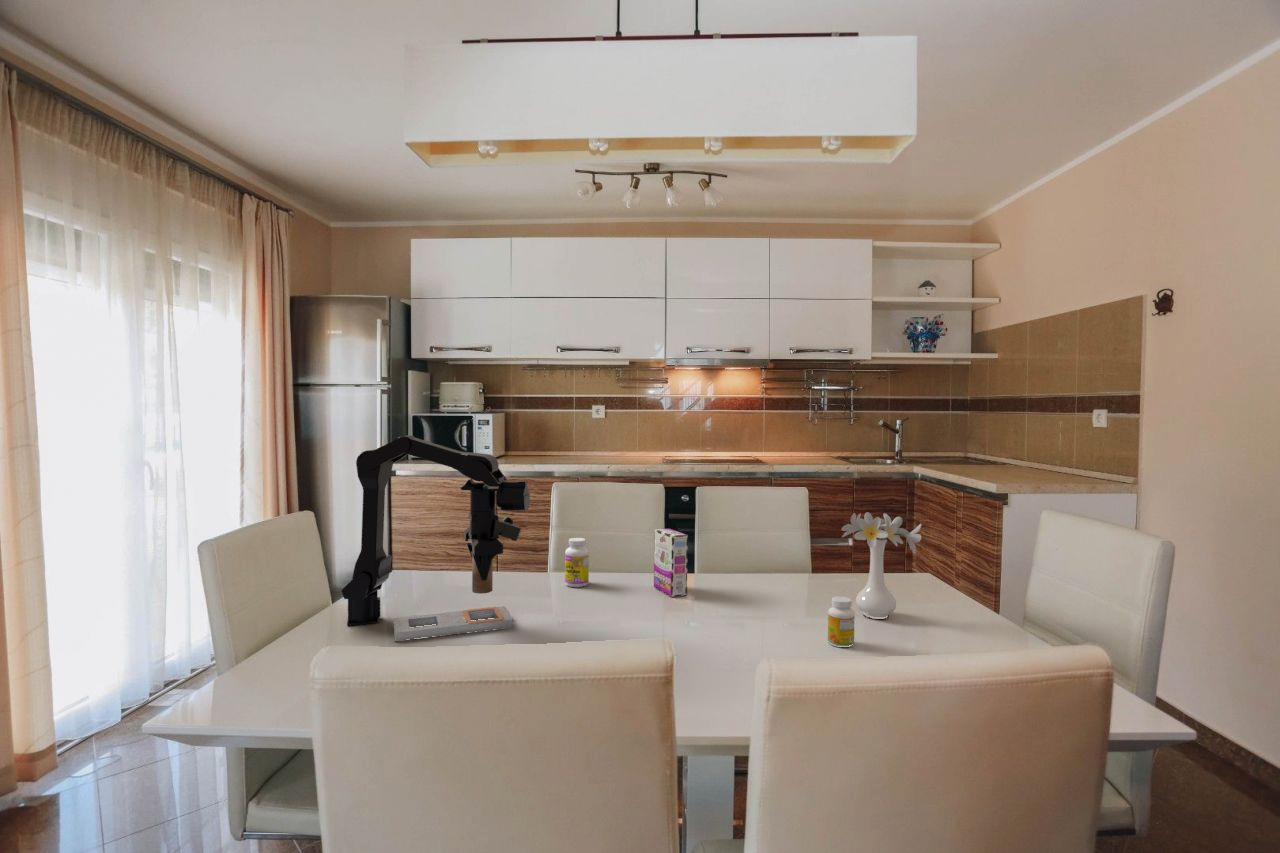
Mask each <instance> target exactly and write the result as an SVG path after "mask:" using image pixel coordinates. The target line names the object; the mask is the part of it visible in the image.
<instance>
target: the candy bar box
mask: <svg viewBox="0 0 1280 853" xmlns="http://www.w3.org/2000/svg"><path fill="white" fill-rule="evenodd" d="M688 552H689V535H688V534H685V533H683V532H680V531H677V530H675V529H671V528H659V529H658V528H657V529H654V552H653V554H654V556H653V558H654V559H653V588H654V587H656V588H658V589H659V590H658V589H657V590H658V591H660V590H661V591H663V592H664V593H663V592H662V593H663V594H665V593H666V594H665V595H667V596H668V595H669V596H668V597H670V596H671V597H670V598H676V597H675V596H680V597H682V596H681V595H688V559H689V558H688V557H689V556H688V554H689V553H688ZM656 588H655V589H656ZM661 591H660V592H661Z"/></svg>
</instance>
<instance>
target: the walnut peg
mask: <svg viewBox="0 0 1280 853" xmlns="http://www.w3.org/2000/svg"><path fill="white" fill-rule="evenodd" d="M493 559H494V558H493ZM493 559H492V562H491V565H490V569H489V573H488V577H487V580H485V581H482V580H481V577H480V575H479V572H478V569H477V567H476V564H475V561H474V559H473V556H472V557H471V560H472V562H471V563H472V565H471V566H472V569H471V570H472V572H471V573H472V574H471V575H472V576H471V577H472V578H471V579H472V580H471V583H472V585H471V586H472V588H471V590H472V591H471V592H472V593H473V594H482V595H483V594H488V593H492V592H493V579H494V578H493V572H494V570H493V567H494V566H493V564H494V562H493Z"/></svg>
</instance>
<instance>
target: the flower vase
mask: <svg viewBox="0 0 1280 853" xmlns="http://www.w3.org/2000/svg"><path fill="white" fill-rule="evenodd" d="M861 514H862V513H859V514H858V515H857V516H856V513H855V512H853V514H852V515H851V518H850V524H849V523H848V524H845V525H843V526H842V527H841V531H843V532H844V533H843V534H842V536H841V538H845V537H846V536H848V535H850V534H852V533H855V532H856V533H855V534H854V536H853V537H854V539H855V540H856V541H867V543H866V544H867V545H868V547H869V552H870V553H869V554H870V560H869V561H870V562H869V572H868V573H869V574H868V579H867V582H866V583H865V586H864V587H863V588H862V589H861V590H860V591H859V592H858V593H857V595H856V598H855V604H856V606H857V608H858V609H859V610H860V611H863V613H864V614H866V615H869V616H873V617H886V616H888V614H889V615H890V614H893V612H894V611H895V610H896V608H897V601H896V600H897V599H896V598H895V597H894V595H893V594H892V593H891V592H890V591H889V589H888V586H887V585H886V582H885V575H884V554H885V547H886V544H887V543H888V540H889V541H890V542H892V544H894V546H896V547H898V545H899V544H901V545H903V544H904V541H903V539H902V538H901V537H904V538H906V541H907V543H908V545H909V549H910V551H911V552H912V554H913V555H915V554H916V543H920V541H921V540H922V535H921V534H920V533H918V532H919V531H920V530H921V527H922V525H923V524H922V523H920V524H918V526H916V527H915V528H914V529H913V530H912V531H908V530H907V529H906V528H903V527H900V526H902V525H903V518H902V517H901V516H896V517H895V518H894V519H893V520H892V519H891V517H890V516H889V514H887V513H883V518H881V517H879V516H877V517H875V518H874V517H873V515H872V514H871V512H867V511H866V512H865V514H864V516H863V517H864V518H861ZM857 531H858V532H857ZM898 543H899V544H898Z"/></svg>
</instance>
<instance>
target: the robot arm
mask: <svg viewBox="0 0 1280 853" xmlns="http://www.w3.org/2000/svg"><path fill="white" fill-rule="evenodd" d="M407 455H410V456H413V457H417V458H419V459H423V460H426V461H429V462H433V463H434V464H435V463H436V464H438V465H439V464H440V465H442V466H445V467H449V468H452V469H454V470H456V471H457V472H458V473H460V474H461V475H463V476H465V477H467V478H469V479H467V481H466V482H465V484H464V485H462V486H460V490H461V491H469V496H470V497H469V499H470V500H469V513H468V519H469V527H467V528H466V529H465V530H464V531H463V540H464V542H467V543H466V547H467V549H468V552H469V554H470V557H471V558H472V556H473V559H474V561H475V564H476V567H477V569H478V572H479V575H480V577H481V580H482V581H485V580H487V577H488V573H489V569H490V565H491V562H492V559H494V558H495V557H496V556H497V555H501V554H504V543H502V542H501V540H499V538H500V537H503V538H506V539H510V540H511V541H512V542H513V541H514V542H517V541H518V539H519V535H520V534H521V530H522V527H520V525H518V524H516V523H514V519H513V518H511V517H509V516H504V517H503V518H502V519H499V515H498V514H497V511H496V510H497V509H496V508H497V507H498V508H500V509H501V511H509V512H510V511H511V512H512V511H515V512H527V511H528V510H529V508H530V501H531V500H530V499H531V494H530V491H529V490H530V489H529V487H528V481H527V480H518V481H517V480H516V481H515V480H513V481H512V480H509V481H508V479H507V478H506V476H505V475H504V473H503V471H501V469H500V468H499V461H498V460H497V458H496V457H495V456H494V455H492V454H488V453H480V452H479V453H478V452H469V451H461V450H458V449H454V448H450V447H448V446H444V445H441V444H438V443H437V444H436V443H434V442H430V441H428V440H424V439H421V438H418V437H415V436H414V435H411V434H410V435H409V434H408V435H401V436H399V437H397V438H396V439H395V440H393V441H391V442H388V443H386V444H384V445H382V446H380V447H378V448H376V449H368V450H365V451H362V452H361V453H360V454H359V455H358V456H357V458H356V460H355V464H356V465H355V466H356V473H357V478H358V480H359V483H360V485H361V487H362V514H361V515H362V517H361V518H362V519H361V546H360V547H361V548H360V552H359V555H358V557H357V559H356V562H355V563H354V566H353V567H354V568H353V572H352V577H351V578H352V579H351V580H350V581H349V582H348V583H347V584H346V585H345V586H344V587H343V588H342V589H341V594H342V597H343V600H347V622H346V625H347V626H348V627H349V626H357V625H367V624H376V623H379V619H380V618H381V597H380V596H379V597H378V591H379V590H381V589H382V586H383V585H384V583H385V582H386V581H387V580H388V579H389V577H390V574H391V573H392V572H393V570H392V562H393V561H392V560H393V555H391V554H390V555H387V554H386V552H385V549H384V530H385V526H384V524H385V506H386V505H385V500H386V497H385V495H386V487H387V485H388V482H389V480H390V478H391V475H392V471H393V466H394V463H397V462H398V461H400V460H402V459H403V458H405V457H406V456H407ZM468 541H469V542H468Z"/></svg>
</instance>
